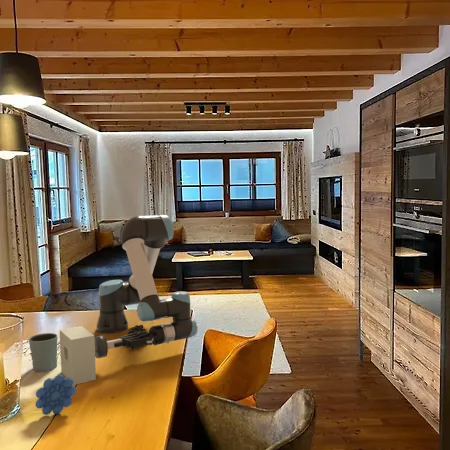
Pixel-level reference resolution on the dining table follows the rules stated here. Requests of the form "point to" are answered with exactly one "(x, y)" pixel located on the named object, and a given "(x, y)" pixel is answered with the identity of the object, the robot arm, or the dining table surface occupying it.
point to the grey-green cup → (43, 351)
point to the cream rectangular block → (77, 354)
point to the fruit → (137, 328)
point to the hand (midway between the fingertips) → (104, 345)
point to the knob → (100, 346)
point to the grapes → (55, 394)
